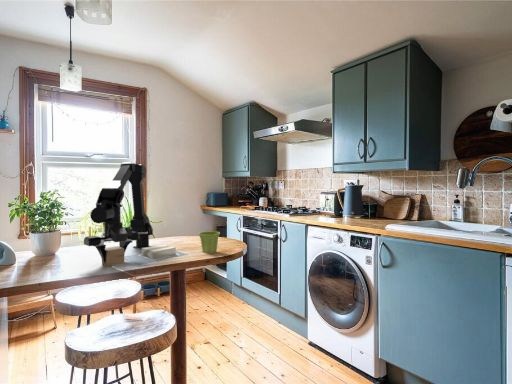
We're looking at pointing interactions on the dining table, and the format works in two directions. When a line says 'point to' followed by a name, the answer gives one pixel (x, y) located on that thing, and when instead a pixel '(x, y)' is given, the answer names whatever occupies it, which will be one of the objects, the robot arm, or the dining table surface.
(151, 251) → the plinth
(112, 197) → the robot arm
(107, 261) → the walnut cube
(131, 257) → the board
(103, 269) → the dining table surface
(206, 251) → the plant pot
